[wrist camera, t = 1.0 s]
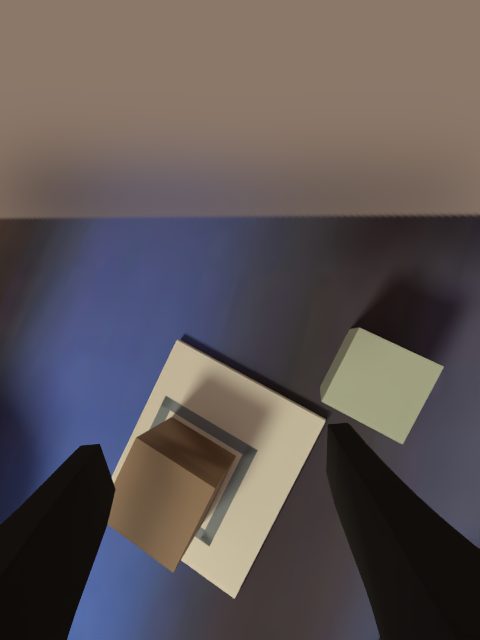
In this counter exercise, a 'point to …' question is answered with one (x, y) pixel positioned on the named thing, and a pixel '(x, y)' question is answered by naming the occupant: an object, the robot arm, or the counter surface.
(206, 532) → the cream square tray
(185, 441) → the walnut block
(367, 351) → the sage block
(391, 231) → the counter surface
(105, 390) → the counter surface
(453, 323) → the counter surface
